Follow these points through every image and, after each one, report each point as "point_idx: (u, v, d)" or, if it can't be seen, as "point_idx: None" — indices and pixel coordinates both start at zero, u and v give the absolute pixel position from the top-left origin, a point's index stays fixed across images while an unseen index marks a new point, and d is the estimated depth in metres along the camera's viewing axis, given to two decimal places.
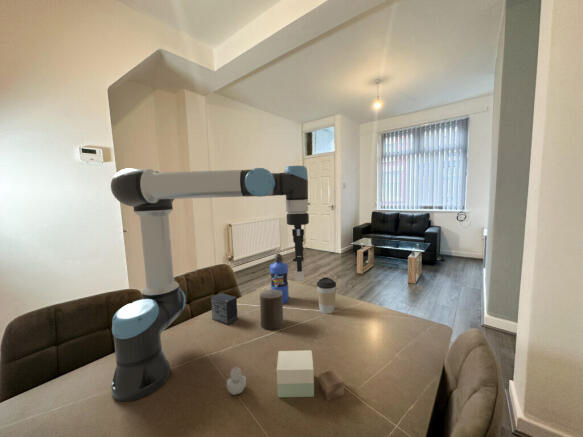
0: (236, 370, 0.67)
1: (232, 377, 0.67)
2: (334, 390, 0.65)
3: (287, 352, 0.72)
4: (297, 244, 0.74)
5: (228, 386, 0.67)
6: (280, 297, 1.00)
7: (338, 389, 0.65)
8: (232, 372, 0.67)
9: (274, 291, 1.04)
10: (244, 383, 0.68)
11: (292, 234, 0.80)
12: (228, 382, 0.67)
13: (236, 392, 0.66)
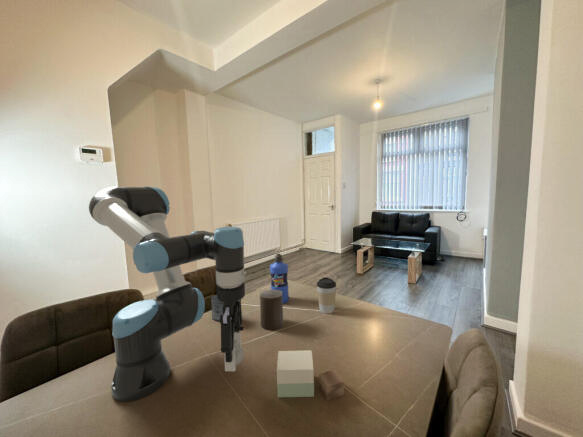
0: (234, 342, 0.67)
1: None
2: (334, 390, 0.65)
3: (287, 352, 0.72)
4: (223, 334, 0.61)
5: None
6: (280, 297, 1.00)
7: (338, 389, 0.65)
8: None
9: (274, 291, 1.04)
10: (242, 355, 0.68)
11: (223, 311, 0.65)
12: None
13: None
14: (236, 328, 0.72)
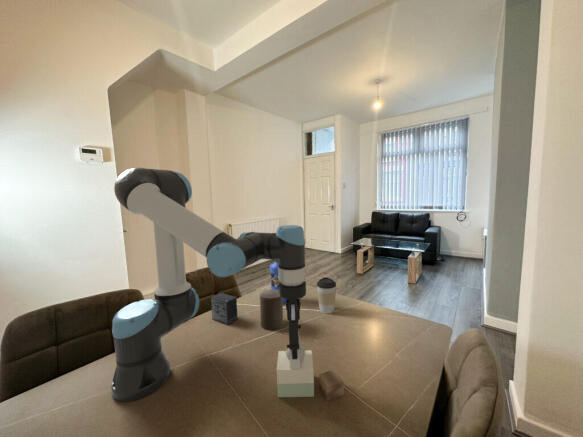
0: None
1: None
2: (334, 390, 0.65)
3: None
4: (291, 330, 0.61)
5: (289, 355, 0.67)
6: (280, 297, 1.00)
7: (338, 389, 0.65)
8: None
9: (274, 291, 1.04)
10: (304, 352, 0.68)
11: (286, 308, 0.66)
12: (288, 352, 0.67)
13: None
14: None
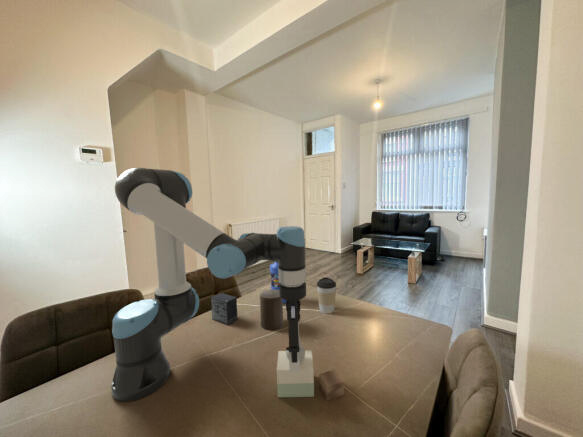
0: None
1: None
2: (334, 390, 0.65)
3: None
4: (291, 329, 0.60)
5: None
6: (280, 297, 1.00)
7: (338, 389, 0.65)
8: None
9: (274, 291, 1.04)
10: (304, 352, 0.68)
11: (286, 310, 0.66)
12: (288, 352, 0.67)
13: None
14: None
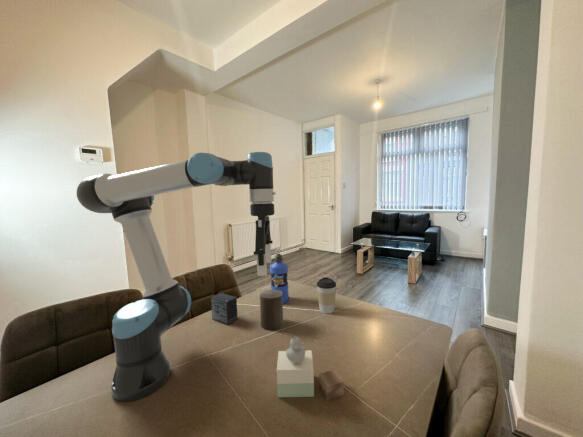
0: (296, 339, 0.67)
1: (293, 346, 0.67)
2: (334, 390, 0.65)
3: None
4: (258, 235, 0.69)
5: (289, 355, 0.67)
6: (280, 297, 1.00)
7: (338, 389, 0.65)
8: (293, 341, 0.67)
9: (274, 291, 1.04)
10: (304, 353, 0.68)
11: None
12: (288, 352, 0.67)
13: (298, 361, 0.66)
14: (266, 242, 0.84)
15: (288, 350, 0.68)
